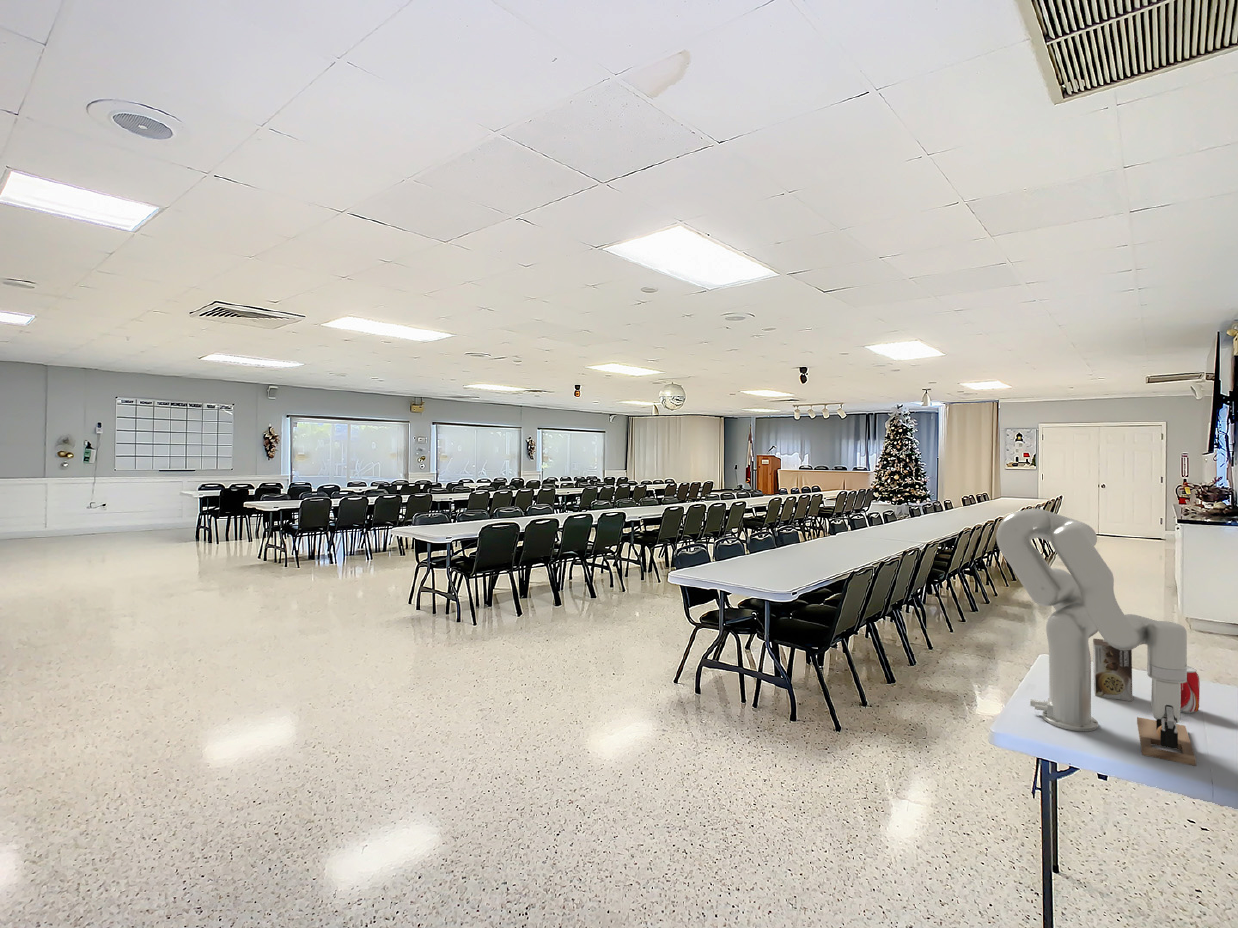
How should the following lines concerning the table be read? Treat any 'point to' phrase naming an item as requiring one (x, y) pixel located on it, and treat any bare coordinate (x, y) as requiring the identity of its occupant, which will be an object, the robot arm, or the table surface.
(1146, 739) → the board
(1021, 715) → the table surface
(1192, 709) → the soda can
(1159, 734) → the ball
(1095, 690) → the food box
